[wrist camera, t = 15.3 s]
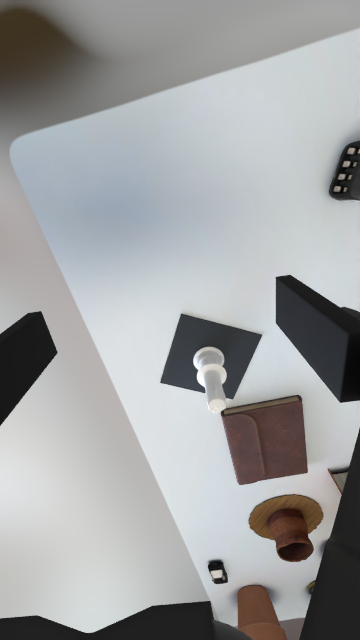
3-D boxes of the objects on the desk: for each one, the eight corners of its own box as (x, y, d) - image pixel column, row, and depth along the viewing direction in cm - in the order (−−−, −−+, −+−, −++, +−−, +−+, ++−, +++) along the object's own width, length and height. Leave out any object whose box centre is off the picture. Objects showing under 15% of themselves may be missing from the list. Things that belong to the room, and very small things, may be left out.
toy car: (228, 577, 76) (230, 590, 73) (214, 579, 76) (215, 591, 74) (221, 558, 72) (223, 571, 69) (207, 560, 72) (207, 573, 70)
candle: (227, 349, 45) (242, 396, 34) (219, 374, 47) (231, 426, 36) (196, 344, 45) (202, 389, 34) (190, 369, 47) (193, 421, 36)
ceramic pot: (234, 513, 64) (240, 548, 57) (300, 483, 59) (315, 518, 53) (272, 547, 69) (281, 582, 63) (335, 522, 65) (352, 557, 59)
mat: (160, 382, 48) (160, 382, 48) (181, 313, 43) (181, 314, 42) (232, 398, 50) (232, 399, 49) (261, 334, 44) (262, 335, 44)
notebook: (299, 394, 49) (304, 402, 47) (305, 465, 57) (309, 474, 55) (220, 409, 51) (221, 417, 49) (236, 477, 58) (238, 485, 57)
